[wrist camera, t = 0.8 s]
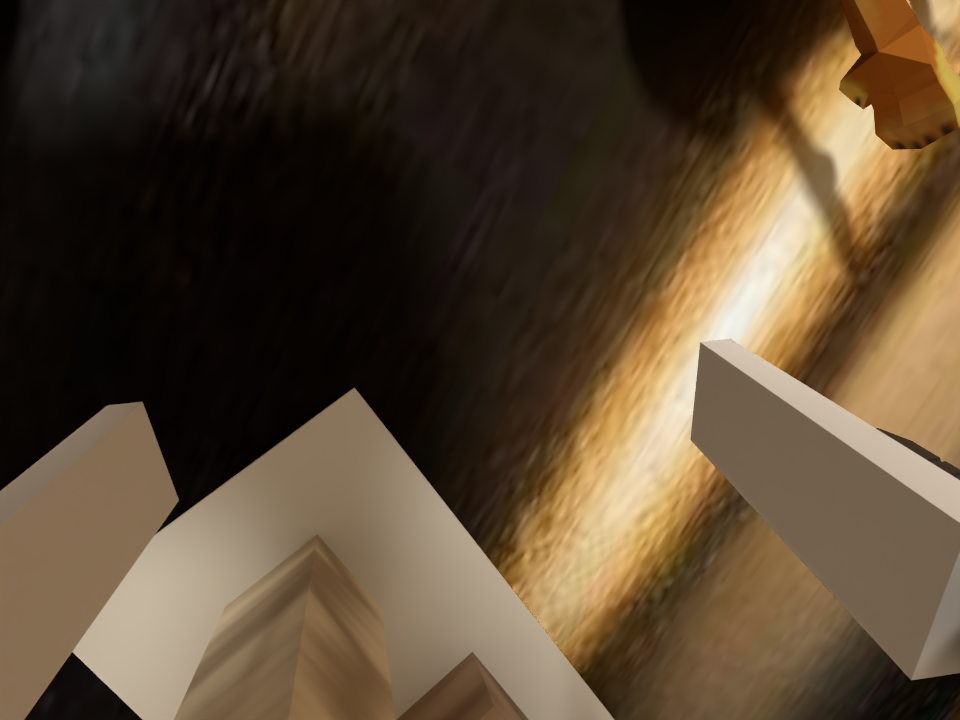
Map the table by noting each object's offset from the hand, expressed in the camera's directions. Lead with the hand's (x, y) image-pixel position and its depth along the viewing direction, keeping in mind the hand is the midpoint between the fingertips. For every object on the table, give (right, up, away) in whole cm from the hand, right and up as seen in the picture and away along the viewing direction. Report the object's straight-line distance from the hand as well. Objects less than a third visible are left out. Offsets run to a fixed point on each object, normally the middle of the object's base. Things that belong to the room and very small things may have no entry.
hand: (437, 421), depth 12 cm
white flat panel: (-4, -15, +13) cm, 20 cm away
